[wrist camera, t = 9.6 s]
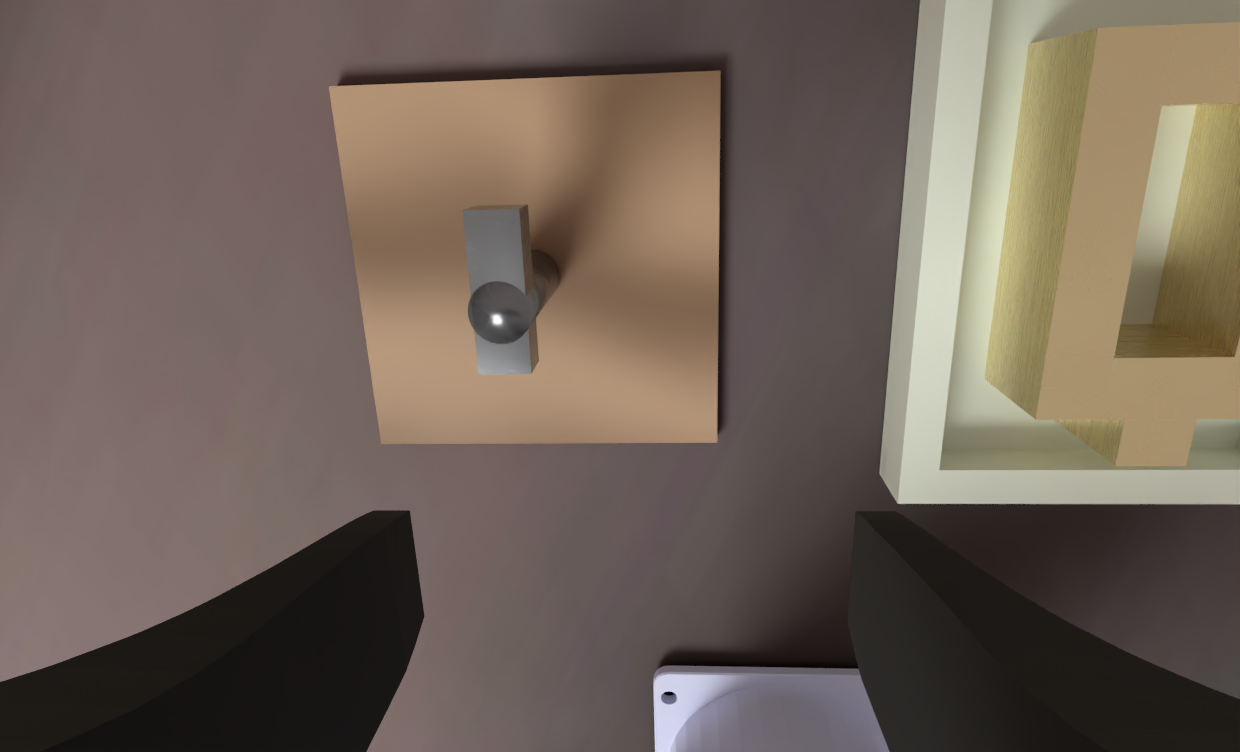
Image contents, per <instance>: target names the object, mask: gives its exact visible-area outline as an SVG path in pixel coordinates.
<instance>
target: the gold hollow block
mask: <svg viewBox="0 0 1240 752" xmlns="http://www.w3.org/2000/svg"><path fill="white" fill-rule="evenodd" d="M1169 106H1196V111H1195V116H1194V120H1193V125H1192V130H1191V135H1190V140H1189V145H1188V150H1187V155H1186V160H1185V165H1184V169H1183V174H1182V179H1181V184H1180V189H1179V194H1178V199H1177V204H1176V209H1175V214H1174V218H1173V223H1172V228H1171V233H1170V238H1169V243H1168V248H1167V253H1166V258H1165V263H1164V267H1163V272H1162V277H1161V282H1160V287H1159V292H1158V297H1157V302H1156V307H1155V311H1154V316H1153V321H1152V324H1121V319H1122V313H1123V308H1124V303H1125V298H1126V292H1127V287H1128V282H1129V277H1130V271H1131V266H1132V261H1133V256H1134V250H1135V245H1136V240H1137V235H1138V229H1139V224H1140V219H1141V214H1142V208H1143V203H1144V198H1145V193H1146V187H1147V182H1148V177H1149V172H1150V166H1151V161H1152V156H1153V151H1154V145H1155V140H1156V135H1157V130H1158V124H1159V119H1160V114H1161V109H1162V107H1169ZM984 379H985V380H986V381H987V382H989V383H990V384H991V385H992V386H994V387H995V388H996V389H997V390H999V391H1000V392H1001V393H1003V394H1004V395H1005V396H1006V397H1008V398H1009V399H1010V400H1011V401H1013V402H1014V403H1015V404H1016V405H1018V406H1019V407H1020V408H1021V409H1023V410H1024V411H1025V412H1027V413H1028V414H1029V415H1030V416H1032V417H1033V418H1034V419H1035V420H1055V421H1056V422H1057V423H1059V424H1060V425H1061V426H1063V427H1064V428H1065V429H1067V430H1068V431H1069V432H1070V433H1072V434H1073V435H1074V436H1076V437H1077V438H1078V439H1080V440H1081V441H1082V442H1084V443H1085V444H1086V445H1088V446H1089V447H1090V448H1092V449H1093V450H1094V451H1096V452H1097V453H1098V454H1100V455H1101V456H1102V457H1104V458H1105V459H1106V460H1108V461H1109V462H1110V463H1112V464H1113V465H1114V466H1186V464H1187V459H1188V455H1189V451H1190V446H1191V442H1192V438H1193V434H1194V429H1195V425H1196V421H1197V419H1240V22H1228V23H1203V24H1177V25H1152V26H1126V27H1101V28H1095V29H1090V30H1086V31H1082V32H1078V33H1074V34H1070V35H1065V36H1061V37H1057V38H1053V39H1049V40H1045V41H1040V42H1036V43H1032V44H1029V46H1028V54H1027V61H1026V69H1025V76H1024V84H1023V91H1022V99H1021V106H1020V114H1019V121H1018V129H1017V136H1016V144H1015V151H1014V159H1013V166H1012V174H1011V181H1010V189H1009V196H1008V204H1007V211H1006V219H1005V226H1004V234H1003V241H1002V249H1001V256H1000V264H999V271H998V279H997V286H996V294H995V301H994V309H993V316H992V324H991V331H990V339H989V346H988V354H987V361H986V369H985V376H984Z"/></svg>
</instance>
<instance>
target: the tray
mask: <svg viewBox="0 0 1240 752" xmlns="http://www.w3.org/2000/svg"><path fill="white" fill-rule="evenodd" d="M1228 22H1240V0H920V7H919V19H918V31H917V42H916V54H915V65H914V77H913V89H912V100H911V112H910V123H909V135H908V147H907V158H906V170H905V182H904V193H903V205H902V216H901V228H900V240H899V251H898V263H897V275H896V286H895V298H894V309H893V321H892V333H891V344H890V356H889V367H888V379H887V391H886V402H885V414H884V426H883V437H882V449H881V460H880V472H879V474H880V476H881V477H882V479H883V481H884V482H885V484H886V485H887V487H888V489H889V490H890V492H891V494H892V495H893V497H894V499H895V500H896V502H897V503H898V504H1240V419H1197V421H1196V425H1195V429H1194V434H1193V438H1192V442H1191V446H1190V451H1189V455H1188V459H1187V464H1186V466H1114V465H1113V464H1112V463H1110V462H1109V461H1108V460H1106V459H1105V458H1104V457H1102V456H1101V455H1100V454H1098V453H1097V452H1096V451H1094V450H1093V449H1092V448H1090V447H1089V446H1088V445H1086V444H1085V443H1084V442H1082V441H1081V440H1080V439H1078V438H1077V437H1076V436H1074V435H1073V434H1072V433H1070V432H1069V431H1068V430H1067V429H1065V428H1064V427H1063V426H1061V425H1060V424H1059V423H1057V422H1056V421H1055V420H1035V419H1034V418H1033V417H1032V416H1030V415H1029V414H1028V413H1027V412H1025V411H1024V410H1023V409H1021V408H1020V407H1019V406H1018V405H1016V404H1015V403H1014V402H1013V401H1011V400H1010V399H1009V398H1008V397H1006V396H1005V395H1004V394H1003V393H1001V392H1000V391H999V390H997V389H996V388H995V387H994V386H992V385H991V384H990V383H989V382H987V381H986V380H985V379H984V376H985V369H986V361H987V354H988V346H989V339H990V331H991V324H992V316H993V309H994V301H995V294H996V286H997V279H998V271H999V264H1000V256H1001V249H1002V241H1003V234H1004V226H1005V219H1006V211H1007V204H1008V196H1009V189H1010V181H1011V174H1012V166H1013V159H1014V151H1015V144H1016V136H1017V129H1018V121H1019V114H1020V106H1021V99H1022V91H1023V84H1024V76H1025V69H1026V61H1027V54H1028V46H1029V44H1032V43H1036V42H1040V41H1045V40H1049V39H1053V38H1057V37H1061V36H1065V35H1070V34H1074V33H1078V32H1082V31H1086V30H1090V29H1095V28H1101V27H1126V26H1152V25H1177V24H1203V23H1228ZM1195 111H1196V106H1169V107H1162V109H1161V114H1160V119H1159V124H1158V130H1157V135H1156V140H1155V145H1154V151H1153V156H1152V161H1151V166H1150V172H1149V177H1148V182H1147V187H1146V193H1145V198H1144V203H1143V208H1142V214H1141V219H1140V224H1139V229H1138V235H1137V240H1136V245H1135V250H1134V256H1133V261H1132V266H1131V271H1130V277H1129V282H1128V287H1127V292H1126V298H1125V303H1124V308H1123V313H1122V319H1121V324H1152V321H1153V316H1154V311H1155V307H1156V302H1157V297H1158V292H1159V287H1160V282H1161V277H1162V272H1163V267H1164V263H1165V258H1166V253H1167V248H1168V243H1169V238H1170V233H1171V228H1172V223H1173V218H1174V214H1175V209H1176V204H1177V199H1178V194H1179V189H1180V184H1181V179H1182V174H1183V169H1184V165H1185V160H1186V155H1187V150H1188V145H1189V140H1190V135H1191V130H1192V125H1193V120H1194V116H1195Z"/></svg>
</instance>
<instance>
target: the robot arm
mask: <svg viewBox="0 0 1240 752" xmlns="http://www.w3.org/2000/svg"><path fill="white" fill-rule="evenodd" d="M423 619H424V611H423V603H422V596H421V589H420V582H419V574H418V567H417V560H416V553H415V546H414V538H413V531H412V524H411V517H410V511H372V512H369V513H367V514H365V515H363V516H361V517H359V518H357V519H355V520H353V521H351V522H349V523H347V524H346V525H344V526H342V527H340V528H339V529H337V530H335V531H333V532H332V533H330V534H328V535H326V536H325V537H323V538H321V539H320V540H318V541H316V542H314V543H313V544H311V545H309V546H308V547H306V548H304V549H302V550H301V551H299V552H297V553H296V554H294V555H292V556H290V557H289V558H287V559H285V560H284V561H282V562H280V563H278V564H277V565H275V566H273V567H271V568H269V569H268V570H266V571H264V572H262V573H260V574H258V575H256V576H255V577H253V578H251V579H249V580H247V581H245V582H243V583H242V584H240V585H238V586H236V587H234V588H232V589H230V590H229V591H227V592H225V593H223V594H221V595H219V596H217V597H215V598H213V599H211V600H209V601H207V602H205V603H203V604H201V605H199V606H197V607H195V608H193V609H191V610H189V611H187V612H185V613H182V614H180V615H178V616H176V617H174V618H171V619H169V620H167V621H164V622H162V623H160V624H158V625H155V626H153V627H151V628H149V629H146V630H144V631H142V632H139V633H137V634H134V635H132V636H130V637H127V638H124V639H122V640H119V641H116V642H114V643H111V644H108V645H106V646H103V647H100V648H98V649H95V650H92V651H90V652H87V653H84V654H82V655H79V656H76V657H74V658H71V659H68V660H66V661H63V662H60V663H58V664H55V665H52V666H49V667H46V668H43V669H40V670H37V671H34V672H31V673H27V674H24V675H21V676H18V677H15V678H12V679H9V680H6V681H2V682H0V752H366V751H367V749H368V747H369V745H370V743H371V741H372V739H373V737H374V735H375V733H376V731H377V729H378V727H379V725H380V723H381V721H382V719H383V717H384V715H385V713H386V711H387V709H388V707H389V705H390V703H391V701H392V699H393V697H394V695H395V693H396V691H397V689H398V687H399V685H400V683H401V681H402V678H403V676H404V674H405V672H406V670H407V667H408V664H409V661H410V658H411V656H412V653H413V650H414V647H415V644H416V641H417V638H418V634H419V631H420V628H421V625H422V622H423ZM847 622H848V627H849V631H850V635H851V639H852V644H853V648H854V652H855V656H856V660H857V664H858V668H859V669H845V668H786V667H727V666H663V667H661V668H659V669H658V670H657V671H656V672H655V674H654V727H655V752H1240V699H1237V698H1235V697H1232V696H1229V695H1227V694H1224V693H1221V692H1219V691H1216V690H1214V689H1211V688H1209V687H1206V686H1204V685H1201V684H1199V683H1197V682H1194V681H1192V680H1190V679H1187V678H1185V677H1182V676H1180V675H1178V674H1175V673H1173V672H1171V671H1168V670H1166V669H1164V668H1161V667H1159V666H1156V665H1154V664H1152V663H1150V662H1147V661H1145V660H1143V659H1141V658H1139V657H1137V656H1134V655H1132V654H1130V653H1128V652H1126V651H1124V650H1122V649H1119V648H1118V647H1116V646H1114V645H1112V644H1110V643H1108V642H1106V641H1104V640H1102V639H1100V638H1098V637H1096V636H1094V635H1092V634H1090V633H1088V632H1086V631H1084V630H1082V629H1080V628H1078V627H1076V626H1074V625H1072V624H1070V623H1069V622H1067V621H1065V620H1063V619H1061V618H1060V617H1058V616H1056V615H1054V614H1052V613H1051V612H1049V611H1047V610H1046V609H1044V608H1042V607H1041V606H1039V605H1037V604H1036V603H1034V602H1032V601H1030V600H1029V599H1027V598H1025V597H1024V596H1022V595H1020V594H1019V593H1017V592H1015V591H1014V590H1012V589H1011V588H1009V587H1007V586H1006V585H1004V584H1003V583H1001V582H1000V581H998V580H997V579H995V578H993V577H992V576H990V575H989V574H987V573H986V572H984V571H983V570H981V569H980V568H978V567H977V566H975V565H974V564H972V563H971V562H969V561H968V560H966V559H965V558H964V557H962V556H961V555H959V554H958V553H956V552H955V551H953V550H952V549H951V548H949V547H948V546H946V545H945V544H943V543H942V542H941V541H939V540H938V539H936V538H935V537H933V536H932V535H931V534H929V533H928V532H926V531H925V530H923V529H922V528H920V527H919V526H918V525H916V524H915V523H913V522H912V521H910V520H909V519H907V518H906V517H904V516H902V515H901V514H899V513H897V512H857V511H856V514H855V527H854V540H853V553H852V566H851V579H850V593H849V606H848V619H847ZM668 691H670V692H673V693H675V694H674V695H671V696H668V695H665V694H663V693H664V692H668Z"/></svg>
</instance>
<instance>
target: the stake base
mask: <svg viewBox="0 0 1240 752" xmlns="http://www.w3.org/2000/svg"><path fill="white" fill-rule="evenodd" d="M720 87H721V71H699V72H674V73H649V74H625V75H600V76H575V77H550V78H525V79H500V80H476V81H451V82H426V83H401V84H376V85H351V86H329V91H330V98H331V104H332V111H333V118H334V125H335V132H336V138H337V145H338V152H339V159H340V166H341V173H342V179H343V186H344V193H345V200H346V207H347V213H348V220H349V227H350V234H351V241H352V247H353V254H354V261H355V268H356V275H357V281H358V288H359V295H360V302H361V309H362V316H363V322H364V329H365V336H366V343H367V350H368V356H369V363H370V370H371V377H372V384H373V390H374V397H375V404H376V411H377V418H378V424H379V431H380V438H381V444H514V443H717V406H718V300H719V193H720ZM522 204H528V212H529V226H530V241H531V250H540V251H543V252H545V253H547V254H549V255H550V256H551V257H552V258H553V259H554V260H555V261H556V263H557V265H558V267H559V271H560V282H559V285H558V287H557V289H556V291H555V292H554V293H553V295H552V296H551V298H550V299H549V300H548V302H547V303H546V305H545V306H544V308H543V309H542V310H541V312H540V313H539V315H538V316H537V317H536V325H537V339H538V354H539V362H538V363H537V365H536V367H535V369H534V370H533V372H532V374H493V375H478V366H477V356H476V346H475V335H474V329H473V327H472V326H471V324H470V321H469V318H468V304H469V300H470V298H471V295H470V285H469V275H468V264H467V254H466V244H465V234H464V224H463V214H462V210H465V209H467V208H470V207H473V206H486V205H522Z"/></svg>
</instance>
